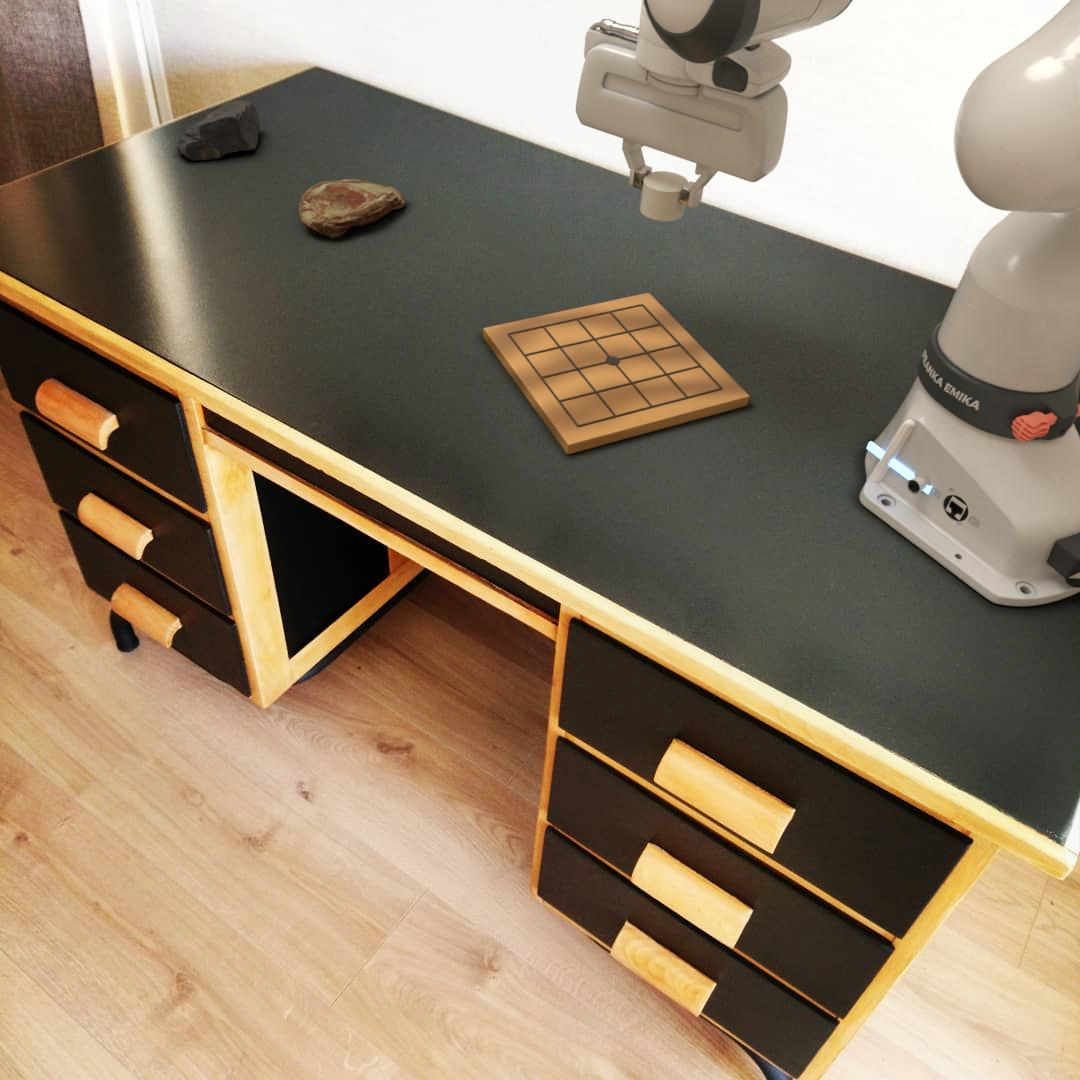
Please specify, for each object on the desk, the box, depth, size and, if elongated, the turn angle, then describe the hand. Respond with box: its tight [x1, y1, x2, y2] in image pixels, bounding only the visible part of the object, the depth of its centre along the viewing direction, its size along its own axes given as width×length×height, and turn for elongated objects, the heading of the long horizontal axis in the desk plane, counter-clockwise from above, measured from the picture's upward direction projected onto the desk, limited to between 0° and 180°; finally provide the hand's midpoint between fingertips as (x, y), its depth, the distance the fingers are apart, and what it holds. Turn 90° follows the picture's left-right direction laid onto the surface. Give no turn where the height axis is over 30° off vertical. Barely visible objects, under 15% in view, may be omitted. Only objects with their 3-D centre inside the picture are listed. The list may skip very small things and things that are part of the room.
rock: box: [176, 100, 261, 161], centre depth 124 cm, size 10×6×10 cm
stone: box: [298, 178, 407, 239], centre depth 114 cm, size 13×10×3 cm
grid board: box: [482, 292, 750, 455], centre depth 95 cm, size 20×20×1 cm
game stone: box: [638, 170, 690, 222], centre depth 91 cm, size 4×4×3 cm
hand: (664, 195), depth 91 cm, fingers closed on game stone, 4 cm apart
